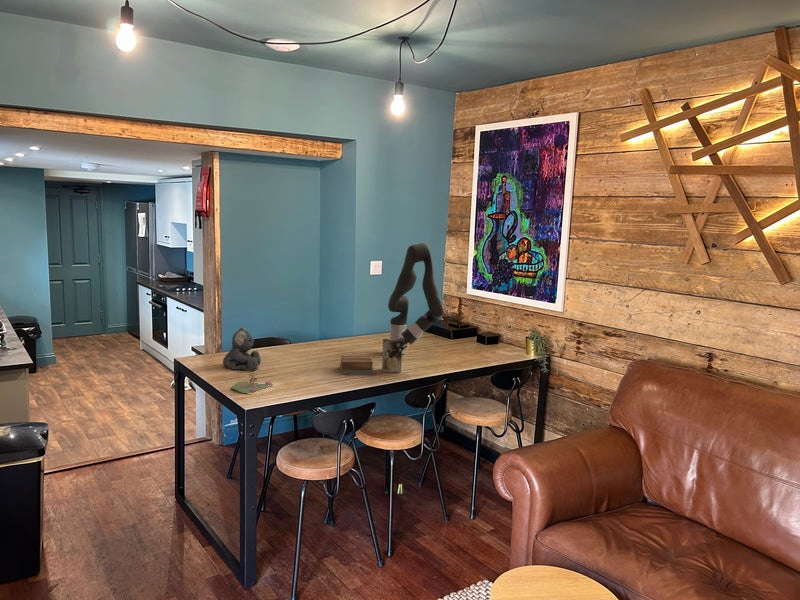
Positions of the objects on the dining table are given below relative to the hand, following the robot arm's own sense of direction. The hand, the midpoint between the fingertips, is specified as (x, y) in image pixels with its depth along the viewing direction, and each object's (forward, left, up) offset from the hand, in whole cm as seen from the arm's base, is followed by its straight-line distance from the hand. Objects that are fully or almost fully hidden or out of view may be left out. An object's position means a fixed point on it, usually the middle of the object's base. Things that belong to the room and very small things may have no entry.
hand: (389, 355), depth 304 cm
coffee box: (0, +2, -8) cm, 8 cm away
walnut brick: (+1, -16, -6) cm, 18 cm away
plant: (+30, -61, -9) cm, 69 cm away
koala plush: (-4, -73, -8) cm, 74 cm away
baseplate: (+1, -16, -8) cm, 18 cm away
